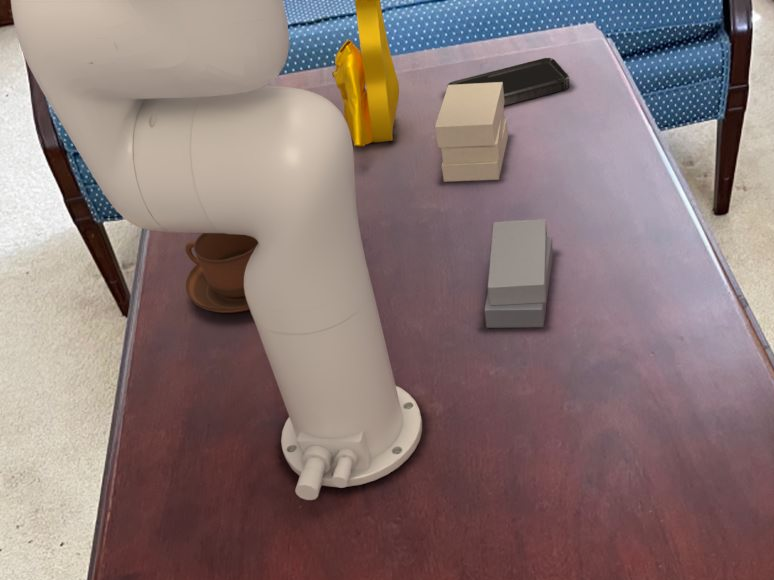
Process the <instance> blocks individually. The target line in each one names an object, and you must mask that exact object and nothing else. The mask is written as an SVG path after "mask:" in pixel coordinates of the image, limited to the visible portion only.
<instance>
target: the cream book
mask: <svg viewBox="0 0 774 580" xmlns="http://www.w3.org/2000/svg"><path fill="white" fill-rule="evenodd" d="M447 85H448V84H447ZM441 103H442V104H441V106H440V110H439V112H438V115H437V119H436V122H435V125H434V131H435V137H436V144H437V149H441V148H449V147H472V146H494V145H495V142H496V138H497V133H498V129H499V125H500V120H501V116H502V112H503V107H504V106H505V105H504V103H505V102H504V91H503V82H493V83H475V84H457V85H448V87H446V91H445V93H444V97H443V100H442V102H441ZM504 108H505V107H504Z"/></svg>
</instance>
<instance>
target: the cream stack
mask: <svg viewBox="0 0 774 580" xmlns="http://www.w3.org/2000/svg"><path fill="white" fill-rule="evenodd" d="M508 138H509V131H508V120H507V119H506V117H505V107H503V112H502V116H501V120H500V125H499V129H498V133H497V138H496V142H495V145H494V146H472V147H449V148H440V150H441V158H442V161H441V165H440V167H441V172H442V179H443V182H444V183H448V182H472V181H473V182H475V181H498V180H500V176H501V171H502V167H503V163H504V157H505V154H506V153H505V152H506V148H507V143H508Z"/></svg>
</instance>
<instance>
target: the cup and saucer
mask: <svg viewBox="0 0 774 580" xmlns="http://www.w3.org/2000/svg"><path fill="white" fill-rule="evenodd" d="M257 245H258V241H257V240H256V239H255V238H253V237H251V236H247V235H239V234H225V233H200V235H198V237H197V238H196V239H195V241H194V240H191V241H188V242H187V243H186V245H185V248H184V249H185V253H186V255H187V257H188V259H190V261H192V263H194V264H196V265H195V266H194V267H193V268H192V269H191V271H190V272H189V274H188V276H187V277H186V280H185V291H186V294H187V296H188V298H189V300H191V301H192V303H194V304H195V305H196V306H198V307H200V308H201V309H204V310H205V311H211V312H214V313H220V314H234V313H243V312H247V311H250V309H249V306H248V303H247V300H246V296H245V291H244V274H245V270H246V266H247V263H248V261H249V259H250V257H251V255H252V253H253V251H254V250H255V248H256V246H257ZM192 249H193V251H194V253H193V251H192ZM194 254H195V255H194Z"/></svg>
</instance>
